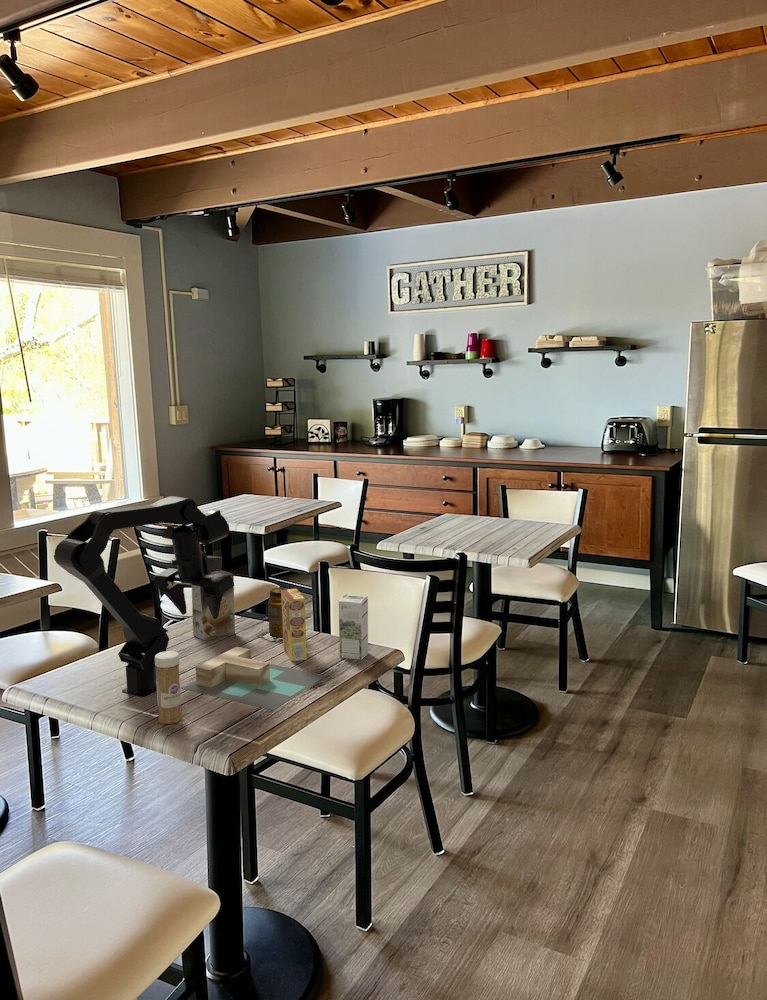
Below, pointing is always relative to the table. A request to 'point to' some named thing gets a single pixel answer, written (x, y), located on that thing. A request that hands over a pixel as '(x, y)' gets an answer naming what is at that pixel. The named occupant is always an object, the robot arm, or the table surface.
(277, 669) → the push mat
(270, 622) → the condiment
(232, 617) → the coffee box
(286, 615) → the candy box
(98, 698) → the table surface
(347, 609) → the syrup box
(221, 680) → the t block
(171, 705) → the sprinkles bottle
